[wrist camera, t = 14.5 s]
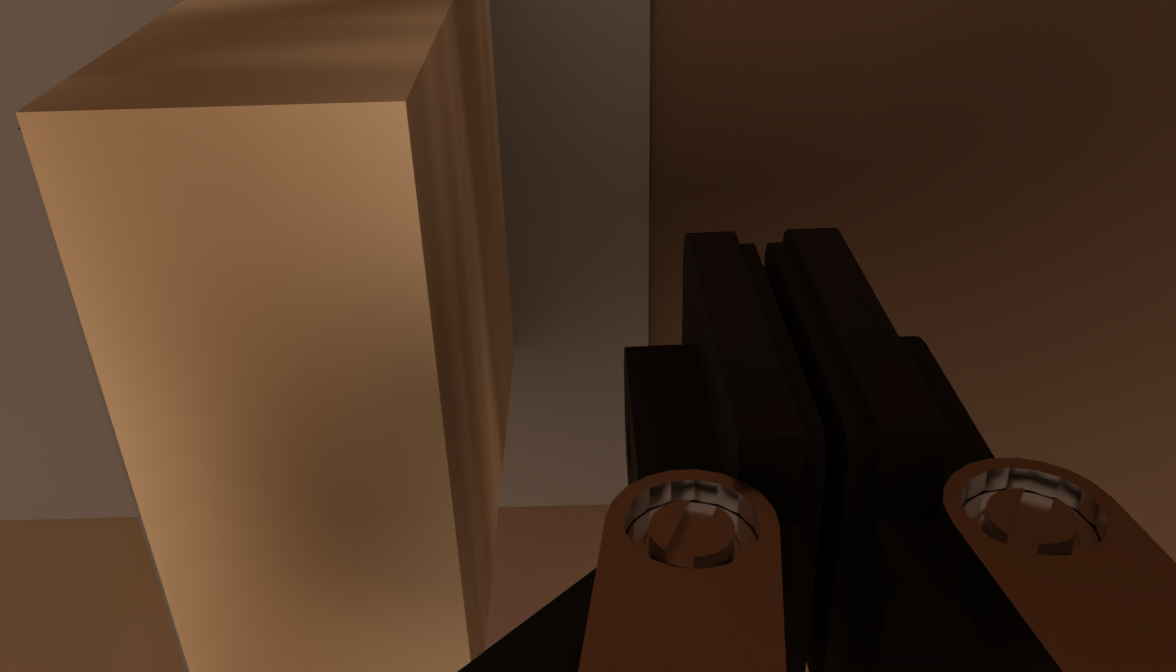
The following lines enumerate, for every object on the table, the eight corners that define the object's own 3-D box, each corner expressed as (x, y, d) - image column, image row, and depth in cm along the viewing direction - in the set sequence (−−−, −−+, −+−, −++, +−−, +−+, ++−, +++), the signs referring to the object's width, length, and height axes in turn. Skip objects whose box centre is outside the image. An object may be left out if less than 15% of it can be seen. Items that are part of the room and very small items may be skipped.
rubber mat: (649, -357, 14) (651, -362, 13) (645, 484, 21) (647, 503, 20) (-710, -319, 14) (-761, -321, 13) (-253, 507, 21) (-275, 527, 20)
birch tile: (484, -69, 15) (405, 101, 8) (514, 350, 18) (477, 720, 11) (265, -62, 15) (-3, 112, 8) (337, 355, 18) (194, 727, 11)
